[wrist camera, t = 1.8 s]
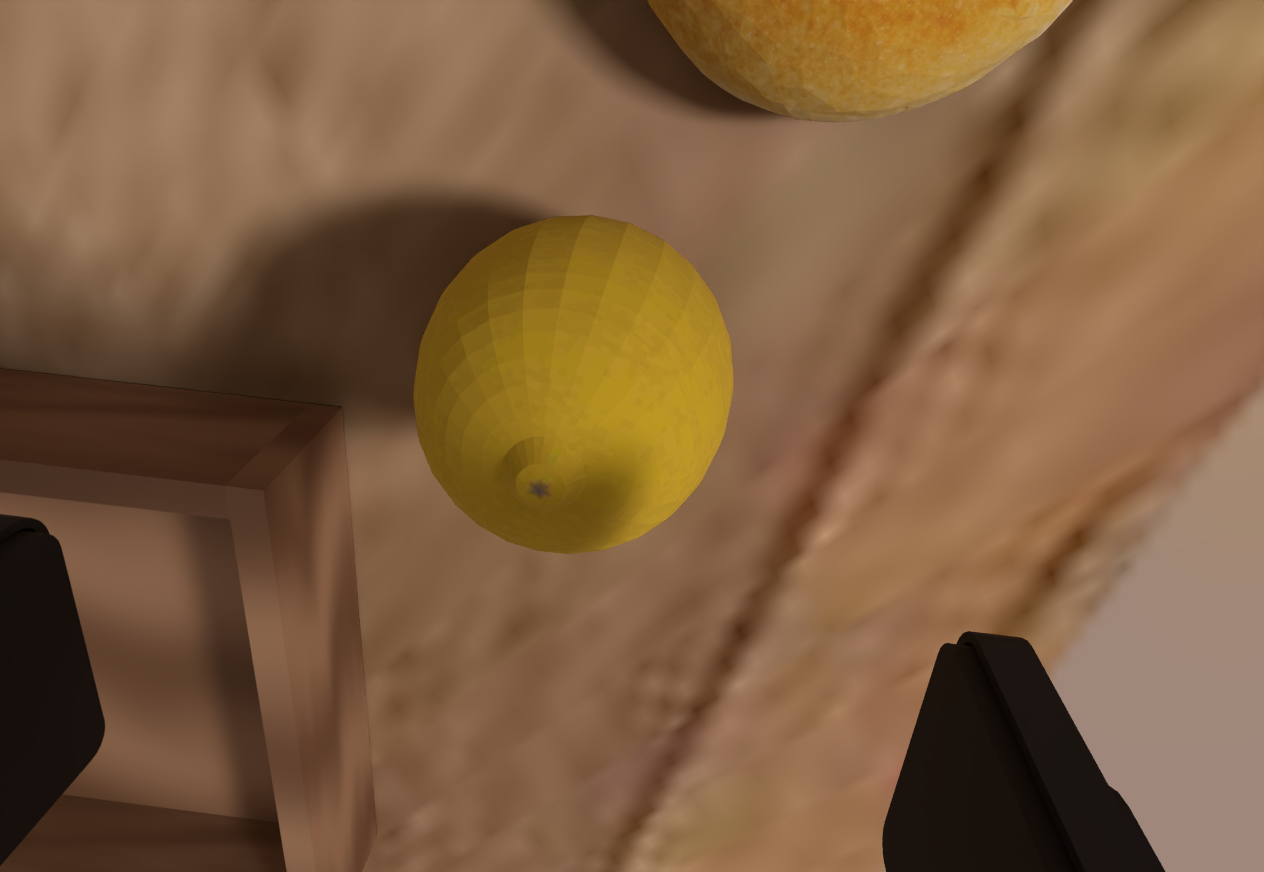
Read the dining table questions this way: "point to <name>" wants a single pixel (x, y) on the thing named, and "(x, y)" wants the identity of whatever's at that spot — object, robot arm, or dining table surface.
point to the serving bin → (200, 625)
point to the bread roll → (850, 49)
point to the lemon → (573, 384)
